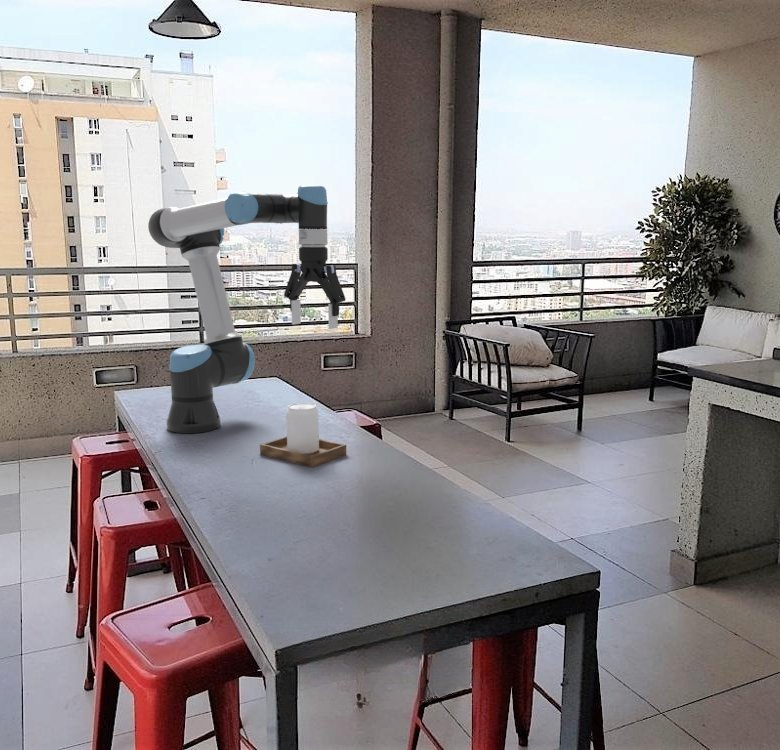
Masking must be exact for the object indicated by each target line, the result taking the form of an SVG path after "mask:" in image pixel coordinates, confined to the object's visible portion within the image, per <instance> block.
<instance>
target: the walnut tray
mask: <svg viewBox="0 0 780 750" xmlns="http://www.w3.org/2000/svg"><path fill="white" fill-rule="evenodd" d="M259 451H260V452H259V455H263V456H265V457H270V458H273V459H278V460H281V461H286V462H289V463H293V464H296V465H300V466H305V467H308V468H315V467H317V466H320V465H322V464H326V463H327V462H330V461H332V460H333V461H334V460H336V459H339V458H341V457H344V456H346V455H347V444H343V443H341V442H335V441H330V440H326V439H321V438H319V450H318V451H316V452H314V453H312V454H308V455H306V454H302V453H298V452H294V451H289V450H287V435H286V436H283V437H279V438H275V439H273V440H270V441H267V442H263V443H261V444H259Z"/></svg>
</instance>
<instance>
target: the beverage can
mask: <svg viewBox="0 0 780 750" xmlns="http://www.w3.org/2000/svg"><path fill="white" fill-rule="evenodd" d="M285 413H286V414H285V415H286V436H287V450H289V451H294V452H298V453H302V454H306V455H308V454H312V453H314V452H316V451H318V450H319V439H320V428H319V426H320V425H319V420H320V419H319V409H318V408H317V405H316V404H315V403H311V402H297V403H291V404H289V405H288V406H287V410H286V412H285Z"/></svg>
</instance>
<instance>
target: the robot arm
mask: <svg viewBox="0 0 780 750" xmlns="http://www.w3.org/2000/svg"><path fill="white" fill-rule="evenodd" d="M327 194H328V193H327V189H326V187H325V186H321V185H300V186H298V188H297V193H296V194H295V193H294V194H293V193H292V194H291V193H290V194H288V193H287V194H286V193H285V194H284V193H282V194H281V193H259V192H247V191H237V192H236V191H235V192H232V193H230V194H229V195H228V196H227V197H224V198H220V199H216V200H211V201H207V202H203V203H199V204H194V205H190V206H186V207H175V206H169V207H163V208H160V209H157V210H156V211H154V212H153V213H152V214H151V215H150V217H149V220H148V232H149V235H150V236H151V238H152V240H153V241H154V242H156V244H158V245H159V246H162V247H165V248H169V249H179V250H180V254H181V255H180V256H181V257H182V258H184V259H185V260H186V261H187V262H188V265H189V269H190V273H191V278H192V282H193V286H194V290H195V295H196V298H197V302H198V303H197V304H198V307H199V310H200V315H201V319H202V324H203V328H204V332H205V336H206V339H205V341H204V342H203V344H194V345H186V346H181V347H178V348H177V349H174V350H173V351H172V352H171V353H170V355H169V365H168V368H169V376H170V390H171V391H170V392H171V405H170V408H169V412H168V417H167V419H166V428H167V430H168V431H169V432H172V433H177V434H197V433H198V434H200V433H205V432H210V431H211V432H212V431H213V430H216V429H218V428H219V427H220V426H221V417H220V415H219V412H218V409H217V406H216V403H215V401H214V389H213V388H218V387H223V386H227V385H228V386H229V385H236V384H238V383H241V382H244V381H247V380H249V378H250V377H252V376H251V375H252V374H253V372H254V370H255V366H256V357H255V353H254V351H253V349H252V348H251V347H250V345H249V344H248V343H245V342H243V338H242V336H241V334H239V333H237V332H236V330H235V326H234V322H233V318H232V313H231V310H230V305H229V304H230V303H229V301H228V297H227V293H226V290H225V289H226V288H225V284H224V279H223V276H222V272H221V267H220V264H219V260H218V254H219V252H220V251H221V247H220V246H221V244H222V243H223V241H224V237H223V236H225V229H226V228H232V227H236V226H242V225H248V224H257V223H258V224H259V223H260V224H269V223H270V224H297V225H298V244H299V245H300V247H299V248H298V259H299V261H300V263H292V264H291V272H290V275H289V279H288V281H287V284H286V287H285V290H284V294H283V296H284V298H286V299H287V298H288V300H289V306H290V307H289V309H290V313H291V325H299V324H301V323H302V321H301V319H302V317H301V315H302V314H301V309H302V307H301V306H302V305H301V299H300V297H301V295H302V293H303V291H304V290H305V288H306V286H307V284H308V283H310V282H313V283H317V284H318V285H319V286H320V287H321V289H322V290H323V293H324V294H325V295H326V297H327V299H328V301H329V303H328V304H327V306H328V308H327V309H328V313H327V315H328V329H329V330H333V329H338V327H339V325H338V324H339V323H338V319H339V318H338V317H339V316H340V304H341V303H342V302H345V301H346V297H345V293H344V291H343V288H342V285H341V282H340V280H339V277H338V275H337V268H336V265H335V264H334V265H333V264H332V265H327V262H328V259H329V258H328V250H329V249H328V247H327V245H328V241H329V240H328V203H329V202H328V196H327Z"/></svg>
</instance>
